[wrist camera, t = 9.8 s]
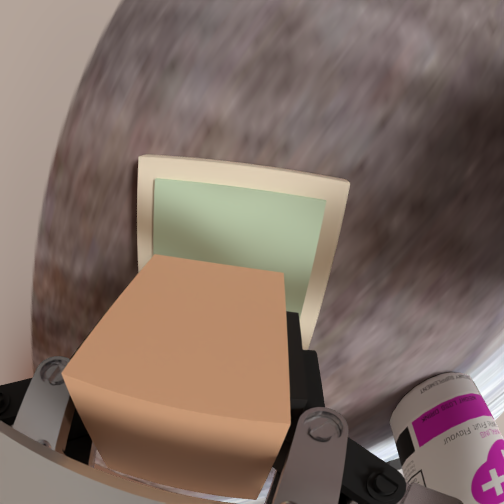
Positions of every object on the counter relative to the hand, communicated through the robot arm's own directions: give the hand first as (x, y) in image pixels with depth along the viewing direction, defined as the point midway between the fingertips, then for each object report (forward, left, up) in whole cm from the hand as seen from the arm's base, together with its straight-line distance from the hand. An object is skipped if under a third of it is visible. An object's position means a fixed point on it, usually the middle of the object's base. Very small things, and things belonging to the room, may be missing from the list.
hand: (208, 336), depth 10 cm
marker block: (0, 0, -1) cm, 1 cm away
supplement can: (+11, +18, -7) cm, 22 cm away
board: (+5, 0, -6) cm, 8 cm away
